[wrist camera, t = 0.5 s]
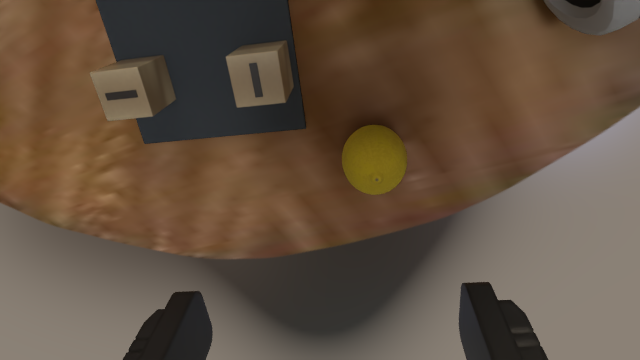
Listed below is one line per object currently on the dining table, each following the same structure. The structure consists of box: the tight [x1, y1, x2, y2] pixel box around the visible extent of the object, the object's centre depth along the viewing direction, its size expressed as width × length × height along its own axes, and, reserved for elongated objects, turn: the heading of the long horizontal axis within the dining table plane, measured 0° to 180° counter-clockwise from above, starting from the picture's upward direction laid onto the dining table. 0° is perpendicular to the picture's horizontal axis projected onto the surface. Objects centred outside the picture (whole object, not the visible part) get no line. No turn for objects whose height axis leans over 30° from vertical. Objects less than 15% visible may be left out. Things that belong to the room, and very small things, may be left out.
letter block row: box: [90, 40, 294, 121], centre depth 34 cm, size 4×15×5 cm, turn 97°
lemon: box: [342, 125, 407, 195], centre depth 35 cm, size 6×6×8 cm
